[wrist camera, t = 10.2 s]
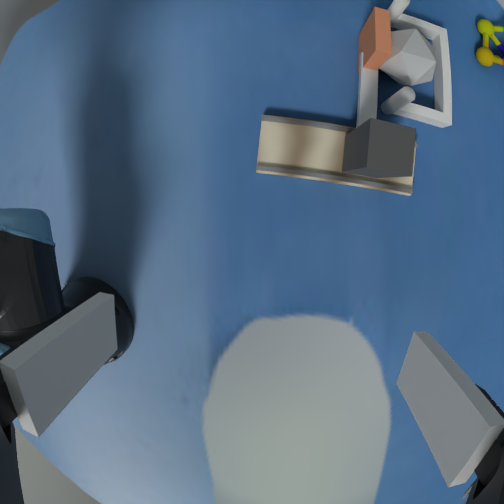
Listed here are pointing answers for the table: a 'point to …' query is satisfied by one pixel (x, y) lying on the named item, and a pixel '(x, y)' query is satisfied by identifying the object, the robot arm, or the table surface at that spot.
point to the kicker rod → (368, 127)
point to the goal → (442, 73)
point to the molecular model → (483, 52)
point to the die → (410, 58)
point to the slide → (315, 154)
